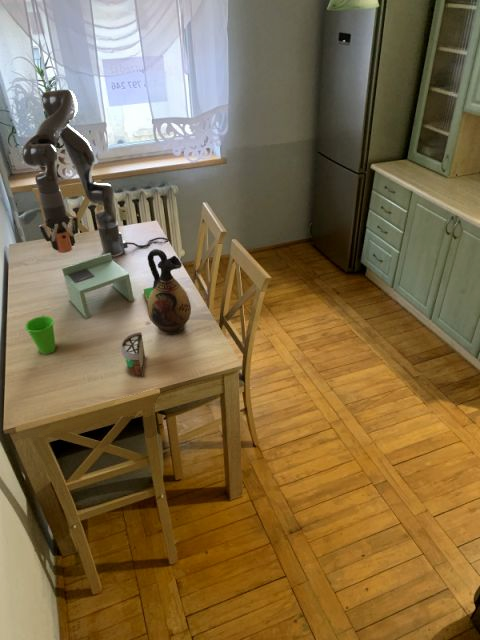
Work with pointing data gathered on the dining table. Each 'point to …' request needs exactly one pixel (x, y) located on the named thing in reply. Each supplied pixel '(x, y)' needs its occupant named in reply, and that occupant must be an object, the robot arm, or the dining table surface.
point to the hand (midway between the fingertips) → (64, 247)
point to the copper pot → (63, 241)
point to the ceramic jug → (167, 296)
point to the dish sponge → (147, 292)
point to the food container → (134, 353)
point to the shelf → (95, 279)
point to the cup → (42, 333)
